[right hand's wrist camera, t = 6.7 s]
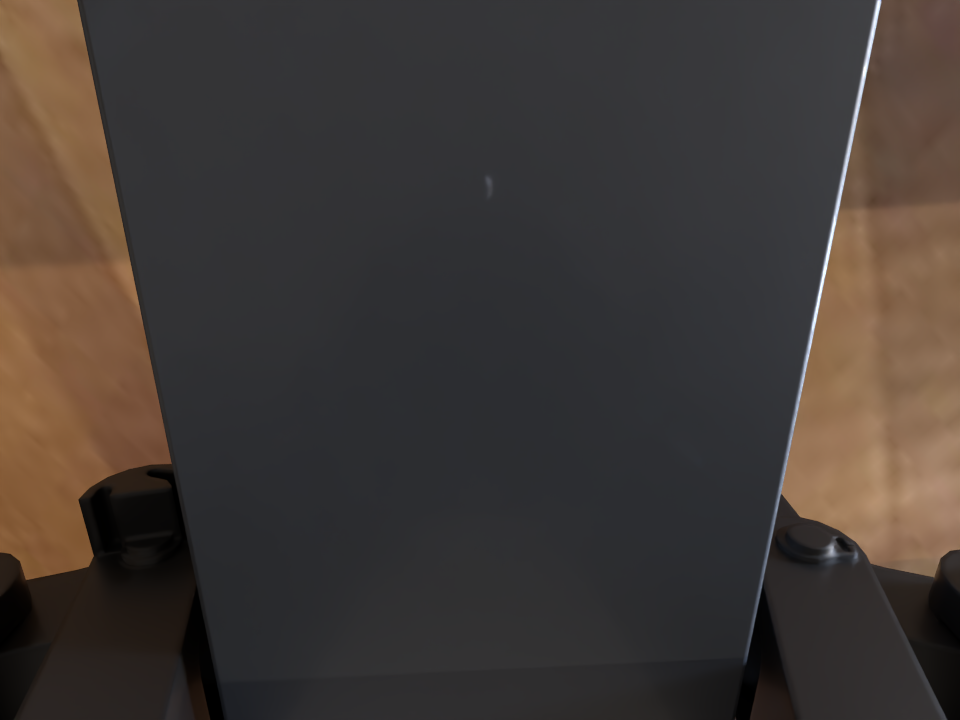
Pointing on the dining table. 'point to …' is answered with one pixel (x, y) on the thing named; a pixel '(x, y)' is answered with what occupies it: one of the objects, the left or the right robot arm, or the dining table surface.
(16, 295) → the dining table surface
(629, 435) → the beam
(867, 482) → the dining table surface
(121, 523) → the right robot arm
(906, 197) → the dining table surface
